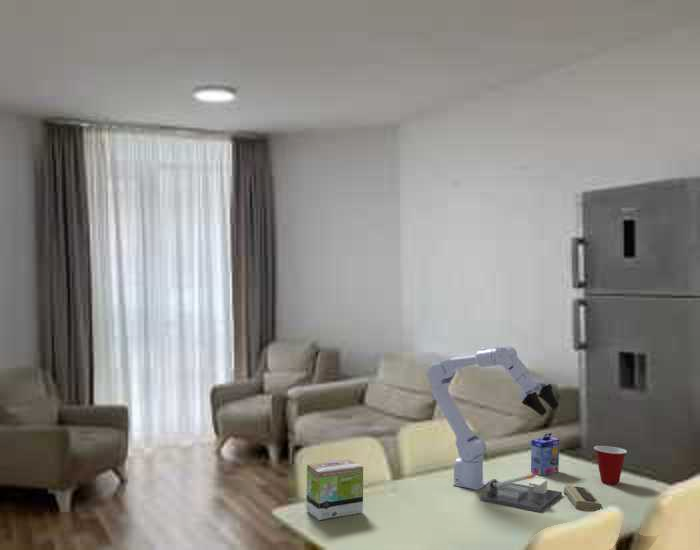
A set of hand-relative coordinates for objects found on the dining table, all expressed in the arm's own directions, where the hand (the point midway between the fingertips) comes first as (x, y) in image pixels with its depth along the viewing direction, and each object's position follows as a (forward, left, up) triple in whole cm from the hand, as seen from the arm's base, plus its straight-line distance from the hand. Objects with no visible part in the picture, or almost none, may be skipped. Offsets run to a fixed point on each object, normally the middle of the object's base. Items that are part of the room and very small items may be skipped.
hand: (550, 410), depth 227 cm
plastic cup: (+10, +31, -29) cm, 44 cm away
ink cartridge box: (-13, +30, -29) cm, 44 cm away
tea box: (-51, -47, -29) cm, 75 cm away
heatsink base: (-9, -2, -29) cm, 31 cm away
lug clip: (-5, +1, -28) cm, 28 cm away
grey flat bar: (-11, -4, -24) cm, 26 cm away
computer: (+8, +6, -30) cm, 31 cm away
